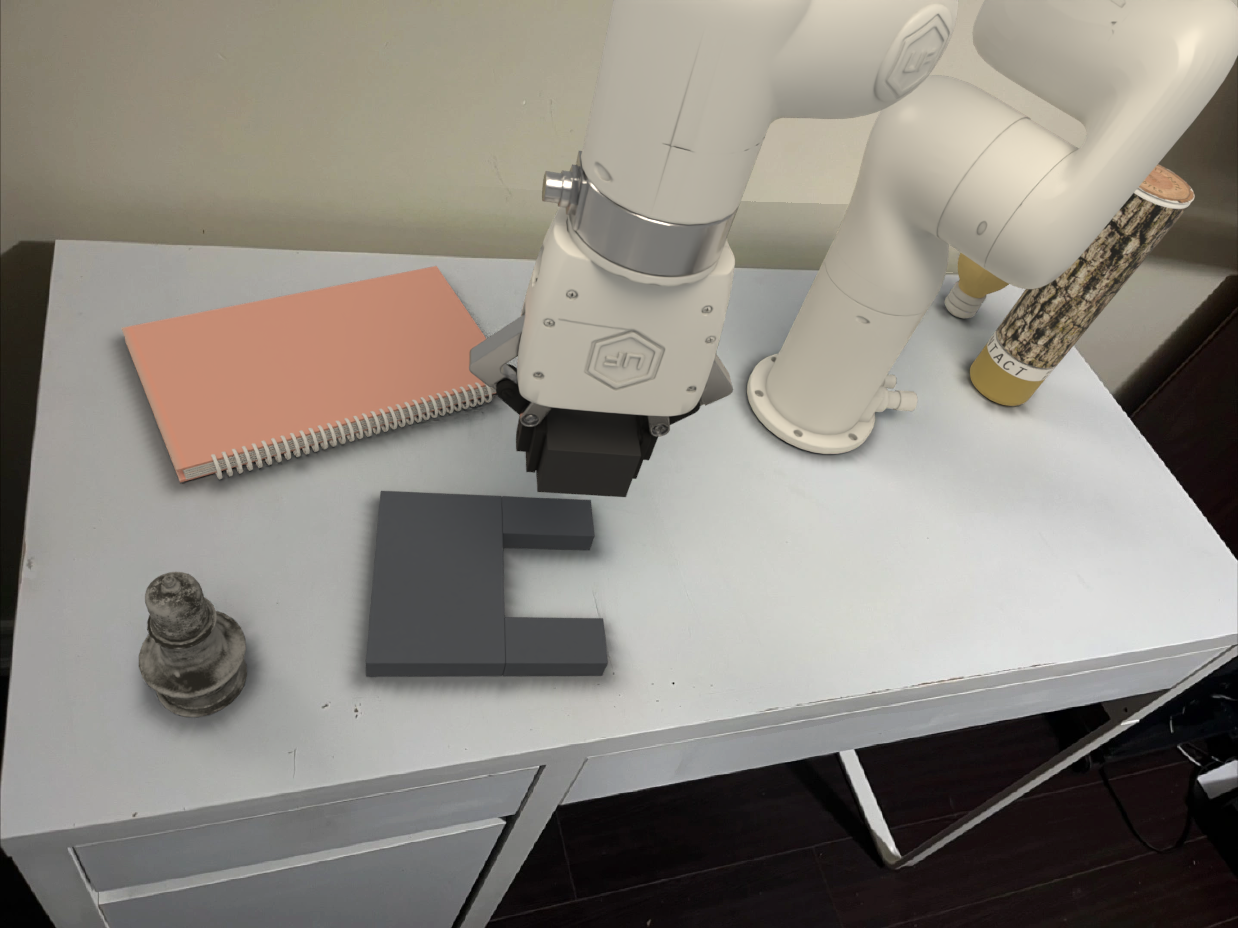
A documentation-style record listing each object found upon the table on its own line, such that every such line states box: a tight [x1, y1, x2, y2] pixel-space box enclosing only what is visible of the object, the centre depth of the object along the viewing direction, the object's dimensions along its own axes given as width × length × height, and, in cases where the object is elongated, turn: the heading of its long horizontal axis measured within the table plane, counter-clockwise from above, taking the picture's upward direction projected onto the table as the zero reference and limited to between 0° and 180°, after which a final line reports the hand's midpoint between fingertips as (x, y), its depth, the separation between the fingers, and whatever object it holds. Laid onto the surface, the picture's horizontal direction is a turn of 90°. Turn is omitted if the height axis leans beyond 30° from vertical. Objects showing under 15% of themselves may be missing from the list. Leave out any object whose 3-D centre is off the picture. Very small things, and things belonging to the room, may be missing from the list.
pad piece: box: [535, 407, 641, 498], centre depth 52 cm, size 6×6×4 cm
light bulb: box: [944, 252, 1010, 319], centre depth 95 cm, size 6×6×10 cm
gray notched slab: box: [365, 490, 609, 678], centre depth 62 cm, size 16×14×2 cm
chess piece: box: [138, 571, 248, 718], centre depth 50 cm, size 6×6×12 cm
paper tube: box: [969, 163, 1196, 407], centre depth 82 cm, size 7×7×25 cm
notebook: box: [120, 265, 497, 483], centre depth 72 cm, size 27×17×2 cm, turn 122°
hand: (580, 456), depth 54 cm, fingers closed on pad piece, 5 cm apart
